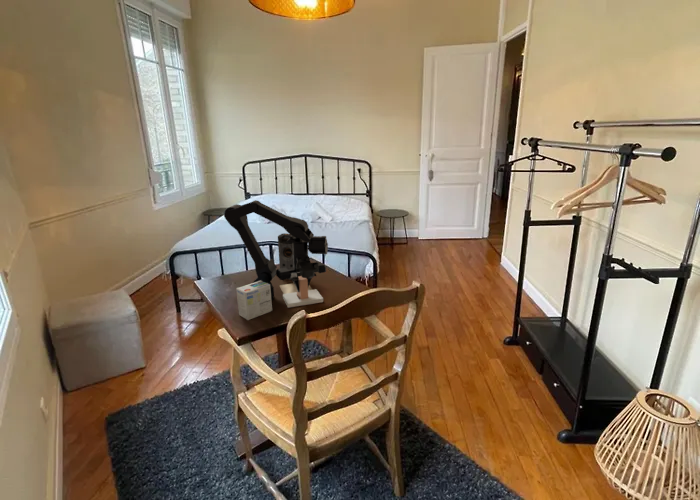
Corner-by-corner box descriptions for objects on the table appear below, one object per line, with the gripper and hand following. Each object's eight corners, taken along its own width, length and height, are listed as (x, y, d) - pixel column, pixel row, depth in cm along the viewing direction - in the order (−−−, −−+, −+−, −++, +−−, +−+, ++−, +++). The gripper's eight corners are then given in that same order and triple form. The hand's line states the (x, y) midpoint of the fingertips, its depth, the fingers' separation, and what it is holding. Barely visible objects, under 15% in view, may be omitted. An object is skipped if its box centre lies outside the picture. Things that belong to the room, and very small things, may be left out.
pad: (284, 295, 157) (284, 293, 156) (279, 286, 166) (279, 285, 165) (312, 291, 161) (312, 289, 160) (306, 282, 170) (306, 281, 169)
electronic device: (279, 278, 175) (276, 236, 169) (284, 274, 180) (282, 232, 174) (297, 280, 172) (295, 237, 166) (303, 276, 177) (301, 234, 172)
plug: (301, 299, 149) (300, 280, 147) (297, 295, 153) (296, 276, 151) (308, 298, 151) (307, 279, 148) (304, 294, 154) (303, 275, 152)
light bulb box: (262, 305, 147) (260, 279, 144) (273, 311, 143) (271, 284, 140) (237, 315, 140) (235, 287, 137) (248, 320, 136) (245, 292, 132)
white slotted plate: (287, 307, 145) (287, 304, 145) (282, 297, 154) (282, 294, 154) (323, 301, 150) (323, 298, 150) (316, 292, 159) (316, 289, 159)
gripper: (283, 263, 136) (286, 303, 140) (331, 255, 144) (332, 293, 149) (274, 254, 145) (277, 292, 150) (319, 247, 153) (320, 284, 158)
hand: (302, 290), depth 151 cm, fingers closed on plug, 3 cm apart
